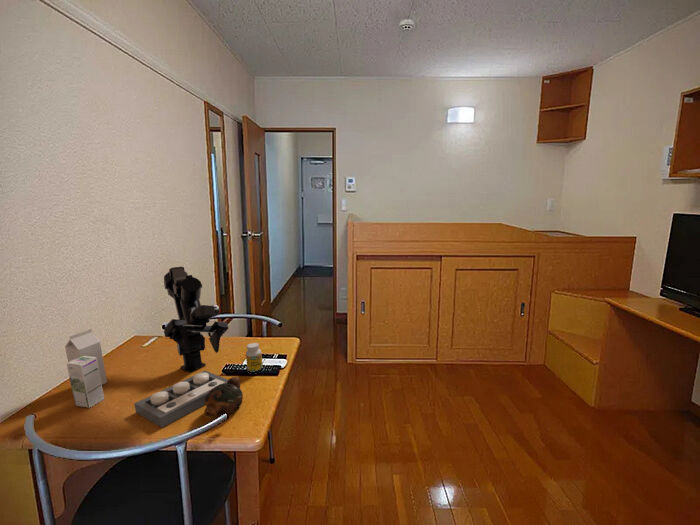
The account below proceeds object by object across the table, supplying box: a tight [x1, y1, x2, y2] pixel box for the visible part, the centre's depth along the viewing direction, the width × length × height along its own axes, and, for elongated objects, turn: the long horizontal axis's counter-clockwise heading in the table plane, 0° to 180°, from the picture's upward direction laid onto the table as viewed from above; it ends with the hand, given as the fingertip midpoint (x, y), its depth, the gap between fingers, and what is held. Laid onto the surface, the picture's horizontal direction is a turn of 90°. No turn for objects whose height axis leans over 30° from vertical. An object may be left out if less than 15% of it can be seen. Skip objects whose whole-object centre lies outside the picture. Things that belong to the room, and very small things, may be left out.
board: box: [134, 370, 229, 428], centre depth 123 cm, size 14×24×4 cm, turn 145°
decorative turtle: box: [203, 376, 244, 418], centre depth 117 cm, size 10×15×8 cm, turn 167°
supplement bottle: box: [245, 342, 264, 372], centre depth 141 cm, size 5×5×10 cm
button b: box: [172, 381, 190, 395], centre depth 124 cm, size 5×5×2 cm
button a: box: [150, 390, 169, 406], centre depth 119 cm, size 5×5×2 cm
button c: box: [192, 372, 209, 386], centre depth 130 cm, size 5×5×2 cm
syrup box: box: [66, 356, 105, 409], centre depth 123 cm, size 6×6×14 cm
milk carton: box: [64, 328, 108, 386], centre depth 133 cm, size 7×7×19 cm
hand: (203, 352), depth 121 cm, fingers open, 9 cm apart
